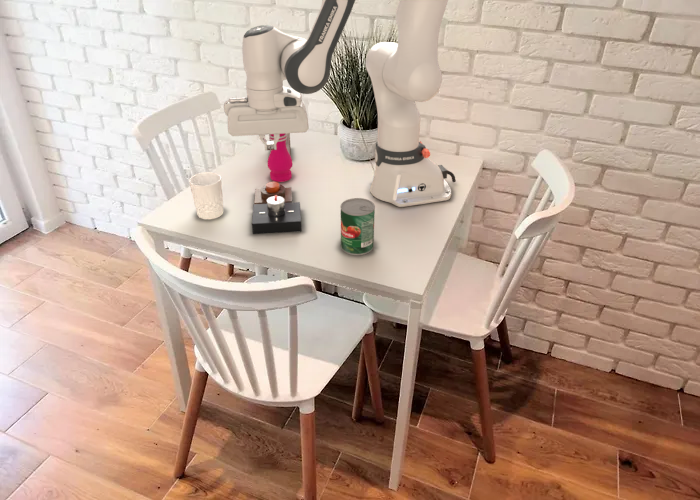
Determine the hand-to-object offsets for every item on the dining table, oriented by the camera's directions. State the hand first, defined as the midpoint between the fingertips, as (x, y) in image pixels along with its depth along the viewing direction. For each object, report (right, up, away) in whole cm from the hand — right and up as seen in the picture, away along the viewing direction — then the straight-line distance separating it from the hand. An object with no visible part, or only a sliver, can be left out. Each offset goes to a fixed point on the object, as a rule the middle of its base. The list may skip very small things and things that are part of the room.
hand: (270, 149), depth 145 cm
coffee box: (-2, +4, +33) cm, 33 cm away
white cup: (-16, -17, +2) cm, 23 cm away
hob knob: (+2, -17, -3) cm, 17 cm away
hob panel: (+2, -19, -2) cm, 19 cm away
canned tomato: (+22, -25, -11) cm, 35 cm away
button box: (0, -13, +8) cm, 15 cm away
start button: (0, -10, +6) cm, 12 cm away
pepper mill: (0, -5, +20) cm, 21 cm away
